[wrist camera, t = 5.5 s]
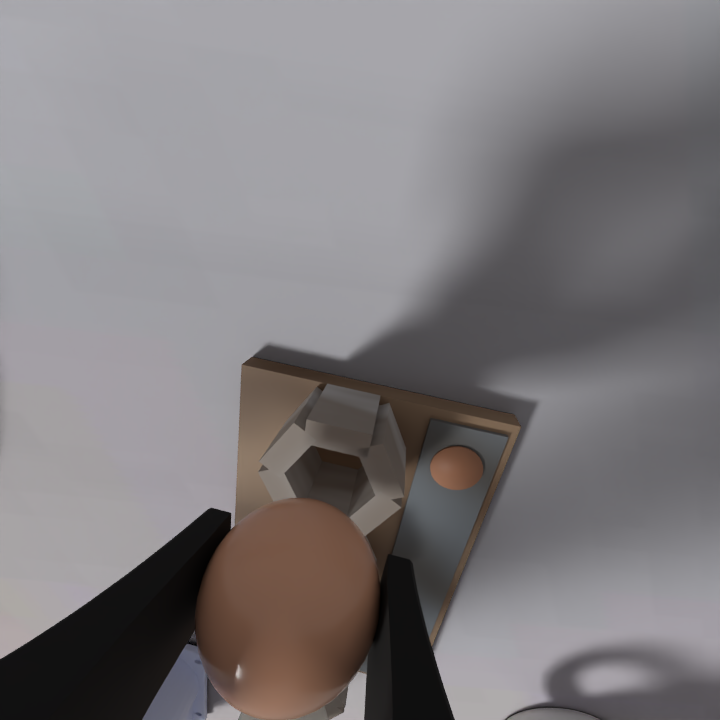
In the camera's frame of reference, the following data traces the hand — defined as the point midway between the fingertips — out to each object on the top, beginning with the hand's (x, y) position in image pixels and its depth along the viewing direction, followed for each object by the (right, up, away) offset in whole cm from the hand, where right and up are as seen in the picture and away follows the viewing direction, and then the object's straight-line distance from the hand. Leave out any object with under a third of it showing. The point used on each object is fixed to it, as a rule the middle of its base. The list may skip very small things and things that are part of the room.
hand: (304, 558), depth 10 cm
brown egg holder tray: (+1, -4, +9) cm, 10 cm away
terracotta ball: (0, 0, -1) cm, 1 cm away
